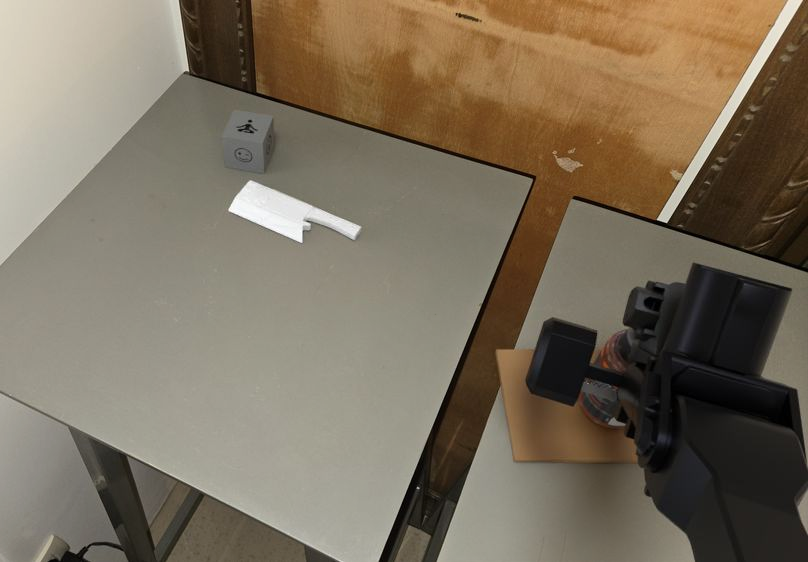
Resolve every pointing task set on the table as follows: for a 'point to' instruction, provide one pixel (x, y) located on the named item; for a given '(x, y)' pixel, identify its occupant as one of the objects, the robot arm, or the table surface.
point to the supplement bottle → (602, 408)
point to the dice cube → (248, 141)
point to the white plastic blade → (285, 213)
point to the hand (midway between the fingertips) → (635, 367)
